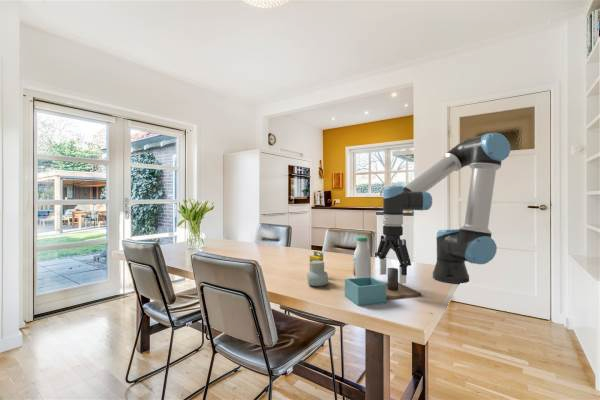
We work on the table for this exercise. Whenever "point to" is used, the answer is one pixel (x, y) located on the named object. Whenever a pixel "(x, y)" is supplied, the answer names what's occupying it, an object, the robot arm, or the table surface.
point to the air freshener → (317, 274)
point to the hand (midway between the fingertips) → (392, 278)
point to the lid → (398, 287)
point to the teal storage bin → (365, 291)
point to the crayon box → (316, 257)
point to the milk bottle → (362, 259)
